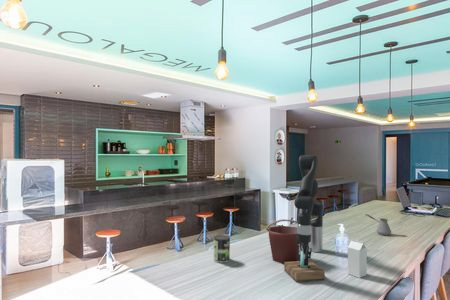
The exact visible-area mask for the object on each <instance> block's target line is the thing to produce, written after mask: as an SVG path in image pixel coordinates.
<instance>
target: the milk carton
mask: <svg viewBox="0 0 450 300" xmlns="http://www.w3.org/2000/svg"><path fill="white" fill-rule="evenodd" d="M367 251H368V249H367V247H366V245H365V243H364V241H362V240H357V239H354V238H351V240H350V242H349V244H348V247H347V275H349V276H353V277H357V278H359V279H360V278H362V277H365V276H367V275H368V274H367V273H368V272H367V261H368V258H367Z"/></svg>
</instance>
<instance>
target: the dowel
mask: <svg viewBox="0 0 450 300" xmlns="http://www.w3.org/2000/svg"><path fill="white" fill-rule="evenodd" d="M305 253H306V252H305ZM305 256H306V254H305ZM299 261H300V268H308V266H305V265H304V254H303V253H302V251H301V259H300V258H299Z"/></svg>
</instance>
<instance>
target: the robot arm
mask: <svg viewBox="0 0 450 300" xmlns="http://www.w3.org/2000/svg"><path fill="white" fill-rule="evenodd" d="M318 161H319V160H318V157H317V155H316V154H303V155H302V154H301V155H300V156H299V158H298V165H299V170H300V173H301V177H302V179H301V181H300V184H299V190H298V193H297V194H296V196H295V198H294V200H293V201H294V202H293V204H294V207H295V209H297V210H298V209H299V210H306V211H305V212H300V213H298V214H297V221H298V223H297V241H299V242H297V251H298V253H299V255H300V257H299V260H300V259H301V251H302V253H303V254H304V265H305V266H308V261H309V259H311V258H312V252H313V253H321V252H323V242H324V241H323V240H324V239H323V234H324V233H323V227H324V226H323V225H324V224H323V221H324V220H323V218H324V205H323V202H317V201H315V199H314V198H315V197H316V196H317V194H318V193H319V185H318V184H319V183H318V181H317V179H316V178H315V177H316V174H317V170H318V165H319V164H318V163H319V162H318ZM312 216H316V217H317V218H315V219H312ZM305 252H306V253H305ZM305 254H306V256H305Z"/></svg>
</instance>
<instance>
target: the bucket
mask: <svg viewBox="0 0 450 300" xmlns="http://www.w3.org/2000/svg"><path fill="white" fill-rule="evenodd" d="M280 222H290V223H295V224H298V220H293V219H286V218H285V219H278V220H275V221H272V222H270V223H269V224H268V225H267V226H266V227H265V228H266V231H267V232H268V238H269V245H270V250H271V256H272V261H274V262H275V263H276V262H277V263H280V264H283V265H284V264H285V262H294V261H300V255H299V253H298V251H297V242H299V241H297V227H296V226H287V225H276V226H275V225H274V224H277V223H280ZM273 225H274V226H273Z"/></svg>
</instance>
